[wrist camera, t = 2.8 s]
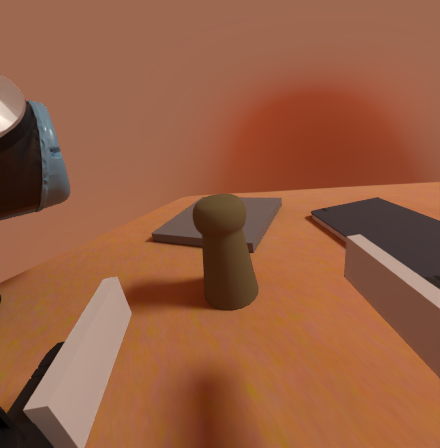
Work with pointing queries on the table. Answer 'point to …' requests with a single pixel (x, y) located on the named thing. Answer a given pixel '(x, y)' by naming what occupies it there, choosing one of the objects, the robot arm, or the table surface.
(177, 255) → the table surface
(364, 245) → the robot arm
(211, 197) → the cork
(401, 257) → the notebook
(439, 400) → the table surface
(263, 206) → the slate board
